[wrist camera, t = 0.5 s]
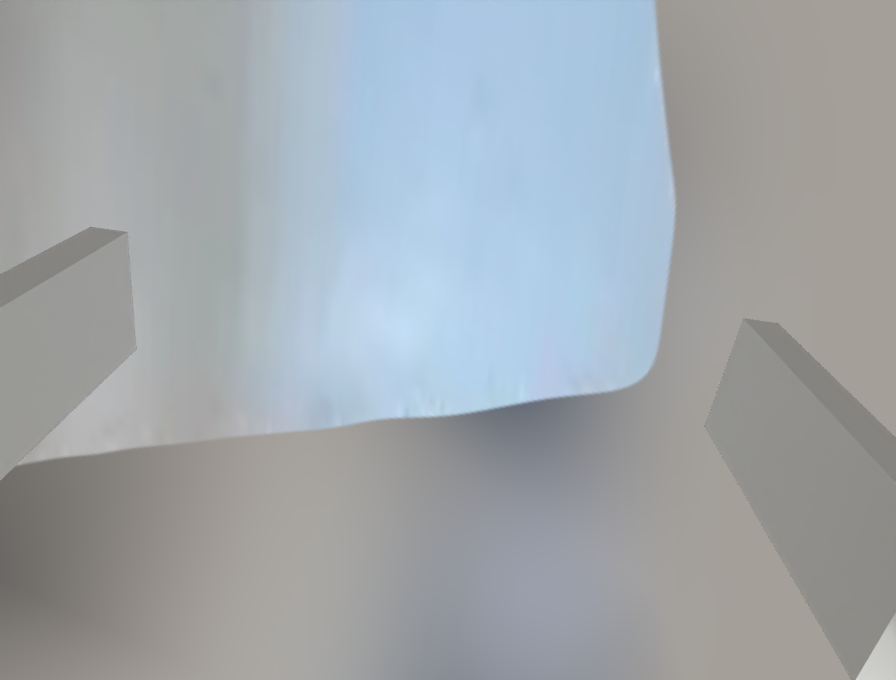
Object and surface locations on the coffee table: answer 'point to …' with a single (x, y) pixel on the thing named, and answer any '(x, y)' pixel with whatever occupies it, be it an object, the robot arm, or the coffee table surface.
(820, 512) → the robot arm
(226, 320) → the coffee table surface
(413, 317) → the coffee table surface
